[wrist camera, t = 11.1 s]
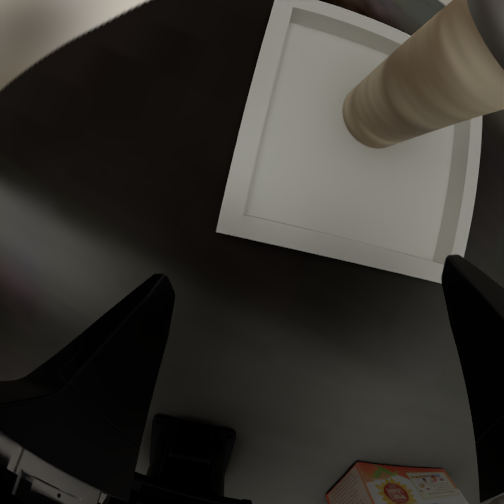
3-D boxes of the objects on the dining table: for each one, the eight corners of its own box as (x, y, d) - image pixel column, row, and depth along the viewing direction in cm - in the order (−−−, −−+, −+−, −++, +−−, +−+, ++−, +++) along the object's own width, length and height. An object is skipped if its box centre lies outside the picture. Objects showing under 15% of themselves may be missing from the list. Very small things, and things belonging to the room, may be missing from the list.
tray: (432, 277, 21) (455, 286, 18) (218, 228, 20) (216, 231, 17) (460, 86, 19) (481, 76, 16) (272, 13, 18) (277, -10, 15)
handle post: (410, 142, 19) (590, 92, 4) (355, 154, 19) (542, 88, 4) (389, 82, 18) (537, -18, 4) (333, 91, 18) (467, -49, 4)
